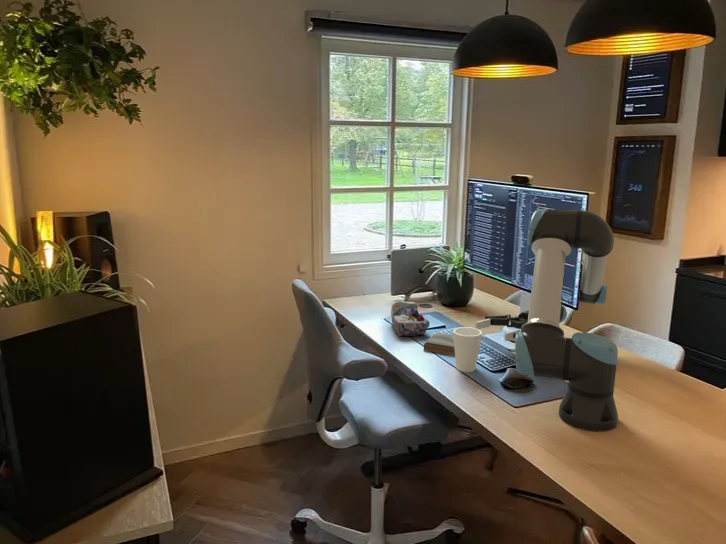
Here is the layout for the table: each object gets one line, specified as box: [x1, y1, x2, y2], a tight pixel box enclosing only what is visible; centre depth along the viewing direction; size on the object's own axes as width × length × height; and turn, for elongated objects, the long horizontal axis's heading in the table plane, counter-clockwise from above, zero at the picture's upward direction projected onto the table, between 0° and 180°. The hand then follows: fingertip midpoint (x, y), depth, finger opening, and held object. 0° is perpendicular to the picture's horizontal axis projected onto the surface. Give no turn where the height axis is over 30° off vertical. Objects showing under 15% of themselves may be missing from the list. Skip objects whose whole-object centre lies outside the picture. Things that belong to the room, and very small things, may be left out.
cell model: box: [390, 300, 430, 337], centre depth 228 cm, size 13×11×20 cm
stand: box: [423, 331, 455, 357], centre depth 211 cm, size 13×13×3 cm
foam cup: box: [452, 326, 483, 373], centre depth 191 cm, size 10×9×13 cm
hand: (490, 331), depth 196 cm, fingers open, 13 cm apart
